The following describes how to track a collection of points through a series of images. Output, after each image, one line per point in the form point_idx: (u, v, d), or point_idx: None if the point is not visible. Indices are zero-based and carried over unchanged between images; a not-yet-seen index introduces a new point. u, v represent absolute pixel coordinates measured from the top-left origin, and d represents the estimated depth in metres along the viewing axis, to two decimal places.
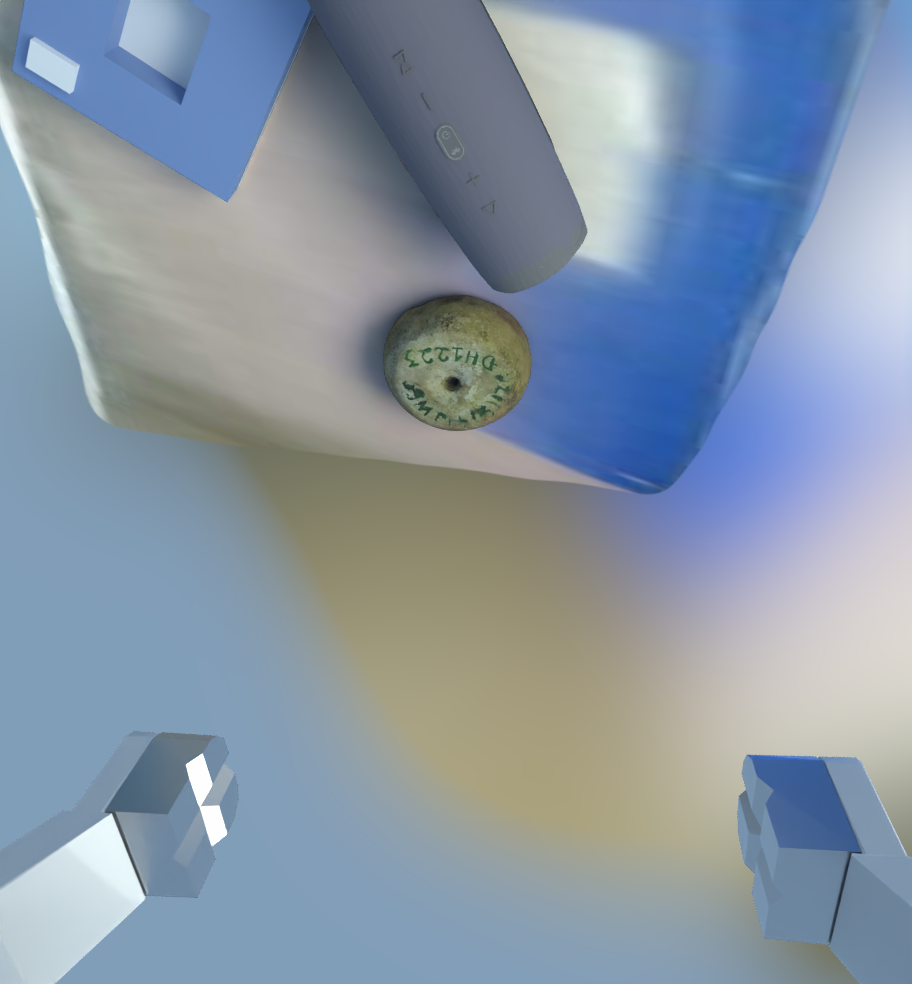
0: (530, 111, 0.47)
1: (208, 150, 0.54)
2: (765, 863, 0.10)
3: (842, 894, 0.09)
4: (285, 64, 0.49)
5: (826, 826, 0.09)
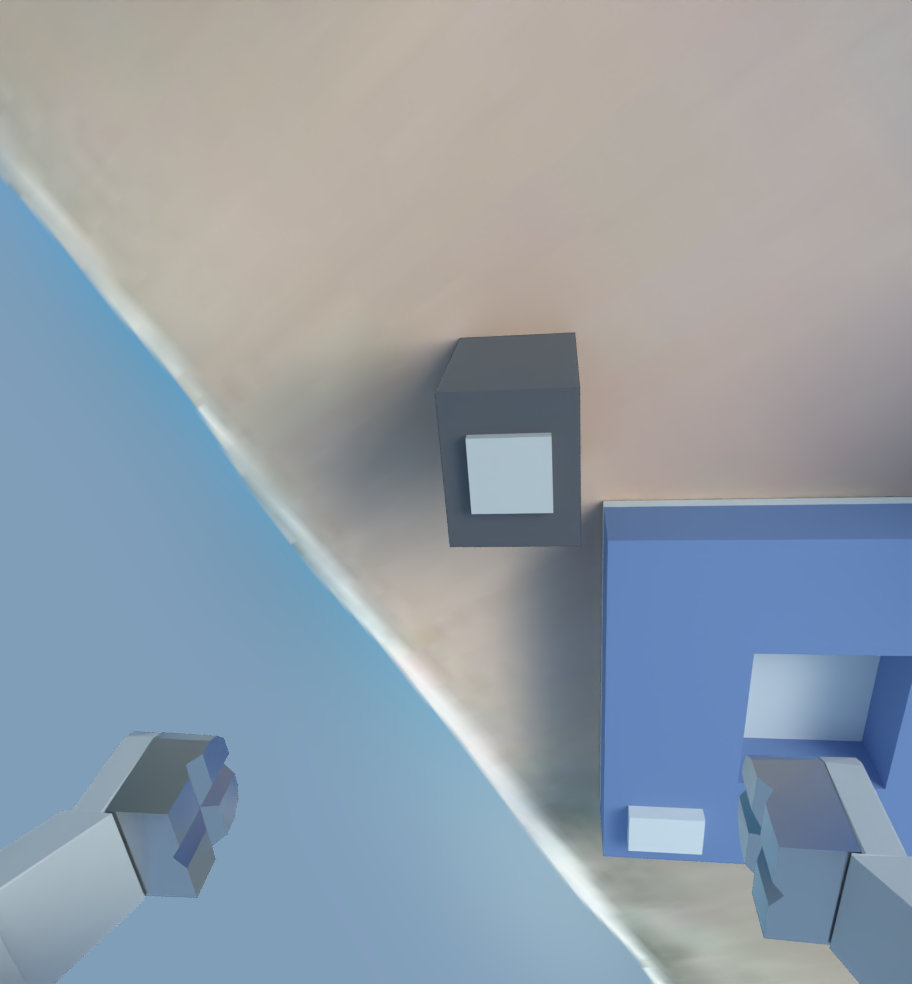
0: None
1: None
2: (765, 863, 0.10)
3: (842, 894, 0.09)
4: None
5: (826, 826, 0.09)
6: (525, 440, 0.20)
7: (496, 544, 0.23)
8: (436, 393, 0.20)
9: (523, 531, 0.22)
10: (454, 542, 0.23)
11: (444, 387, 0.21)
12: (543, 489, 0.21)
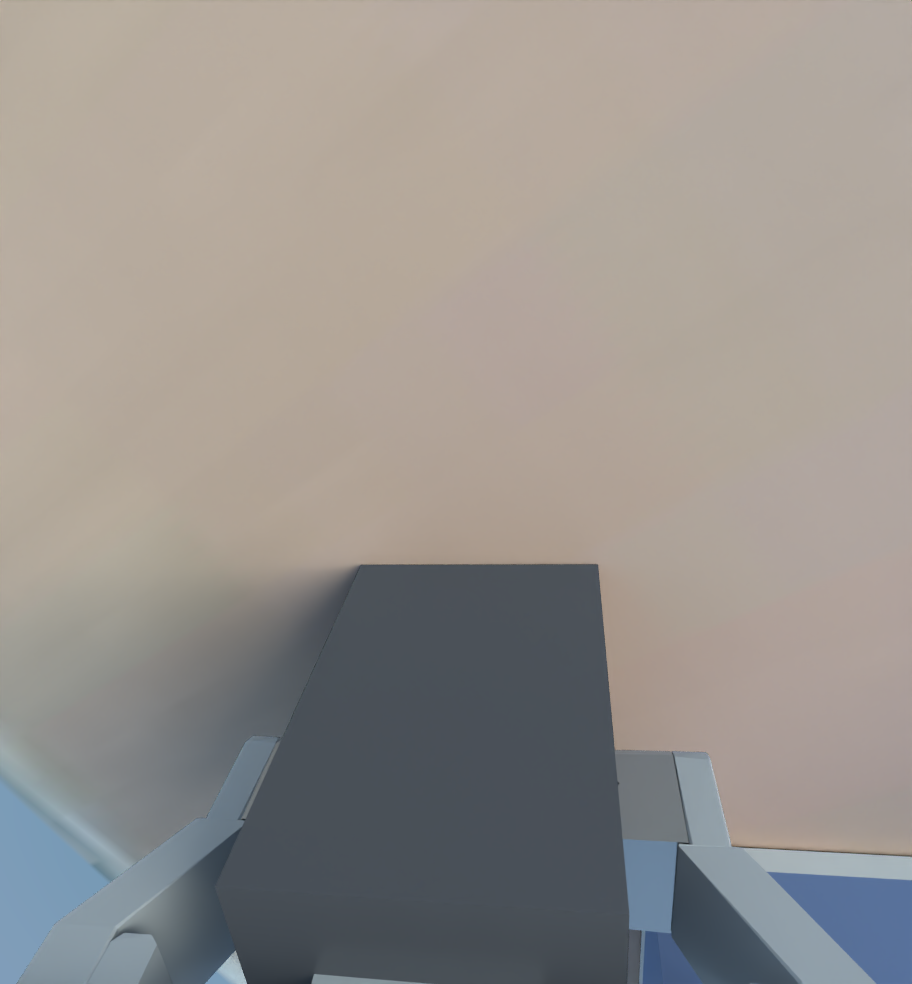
0: None
1: None
2: None
3: (676, 883, 0.09)
4: None
5: (661, 817, 0.09)
6: None
7: None
8: (218, 891, 0.07)
9: None
10: None
11: (251, 850, 0.08)
12: None
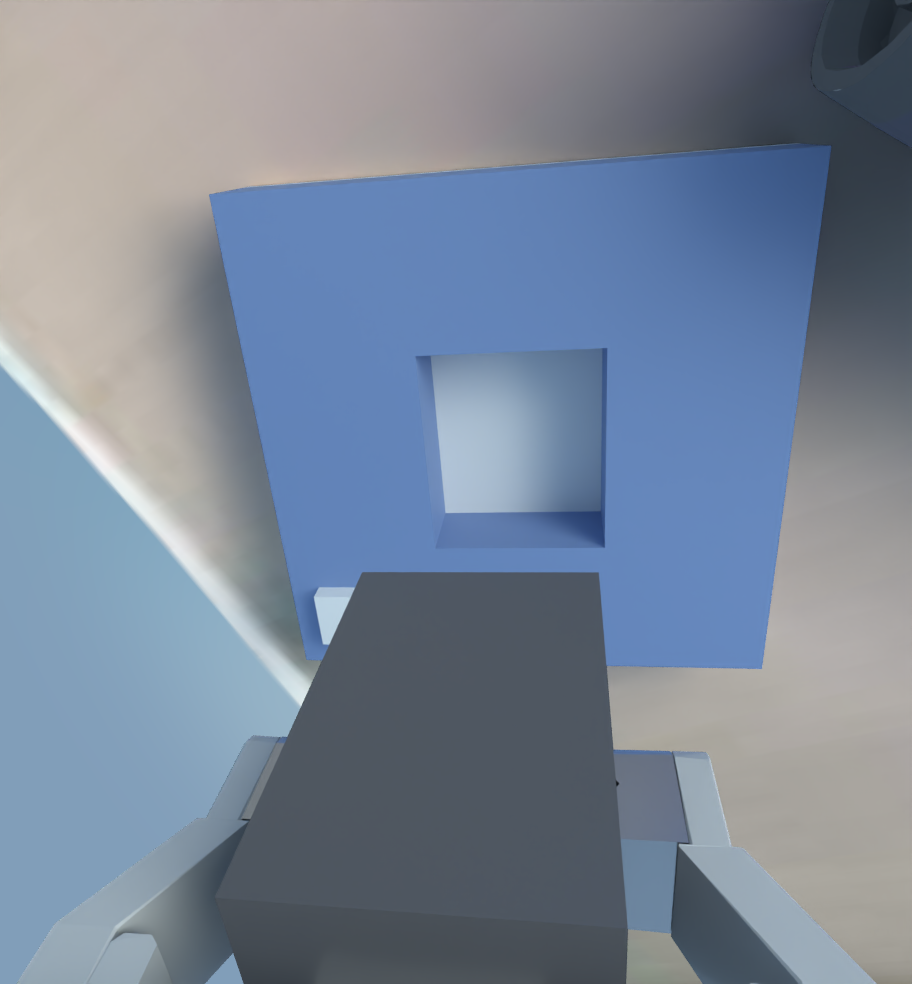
0: None
1: (687, 596, 0.24)
2: None
3: (676, 883, 0.09)
4: (803, 332, 0.20)
5: (661, 818, 0.09)
6: None
7: None
8: (218, 902, 0.07)
9: None
10: None
11: (250, 861, 0.08)
12: None
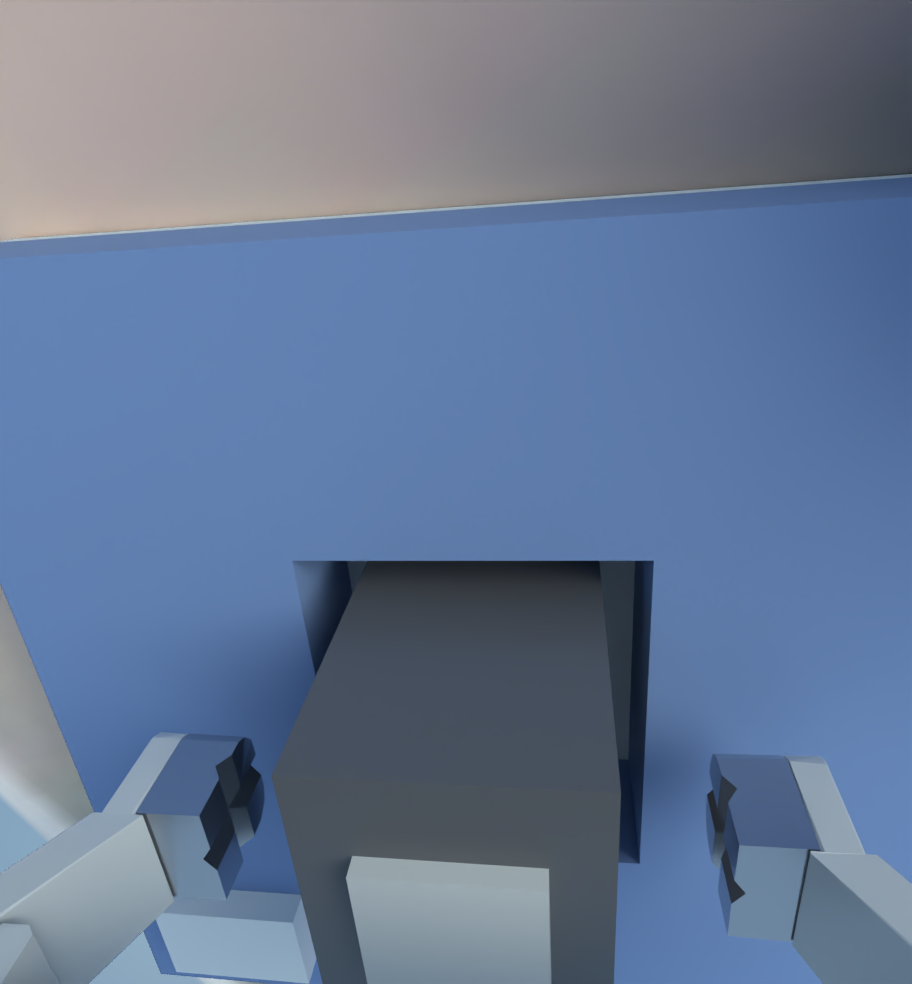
0: None
1: None
2: (729, 861, 0.10)
3: (803, 891, 0.09)
4: None
5: (787, 824, 0.09)
6: (485, 892, 0.09)
7: None
8: (274, 779, 0.09)
9: None
10: None
11: (299, 749, 0.09)
12: (529, 977, 0.09)
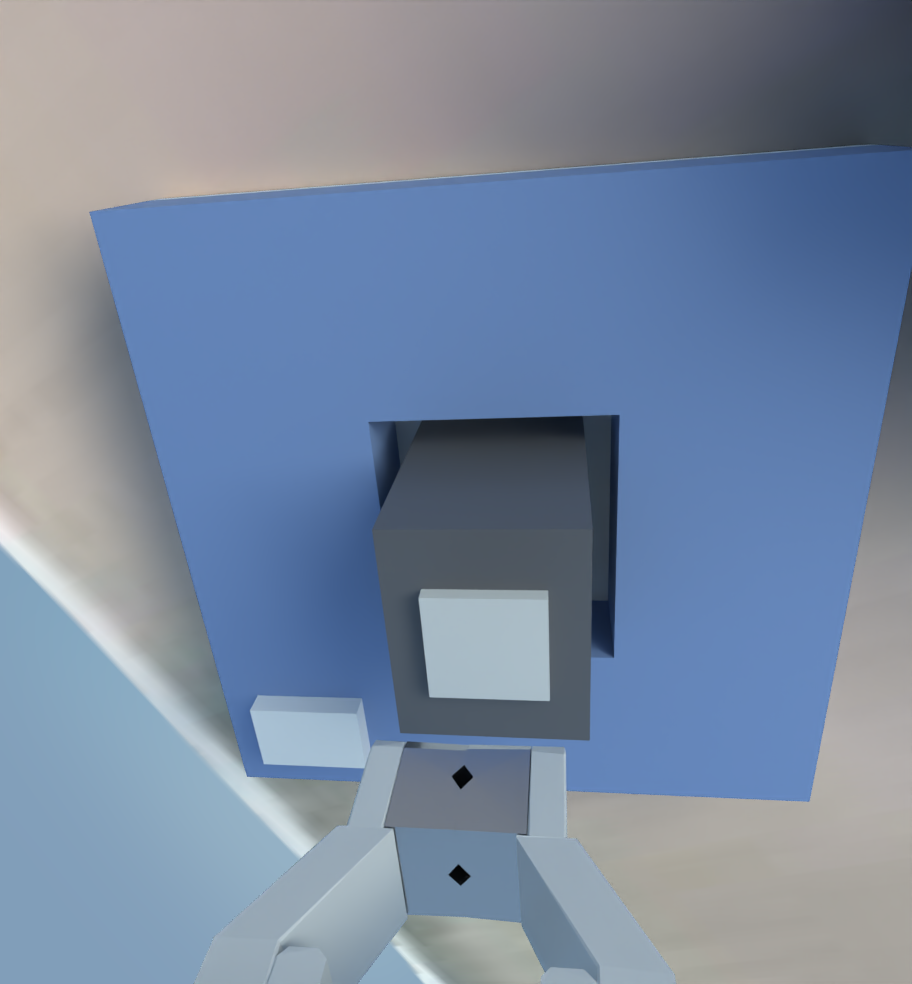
0: None
1: (718, 716, 0.19)
2: None
3: (519, 873, 0.10)
4: (882, 398, 0.15)
5: (505, 810, 0.10)
6: (507, 603, 0.13)
7: (467, 731, 0.16)
8: (374, 531, 0.13)
9: (505, 718, 0.15)
10: (406, 727, 0.16)
11: (387, 518, 0.14)
12: (535, 670, 0.14)
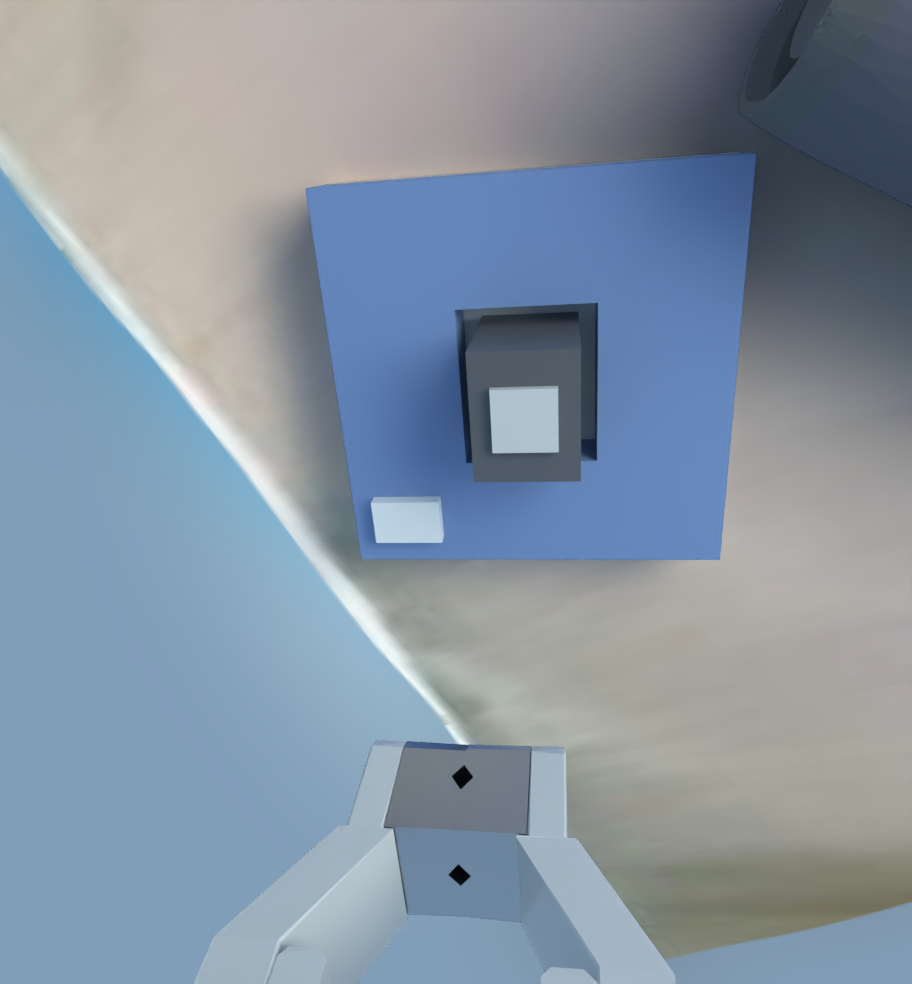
0: None
1: (661, 500, 0.31)
2: None
3: (519, 873, 0.10)
4: (741, 290, 0.27)
5: (505, 810, 0.10)
6: (536, 391, 0.26)
7: (511, 480, 0.28)
8: (466, 353, 0.26)
9: (534, 469, 0.27)
10: (477, 478, 0.28)
11: (472, 349, 0.26)
12: (551, 432, 0.26)
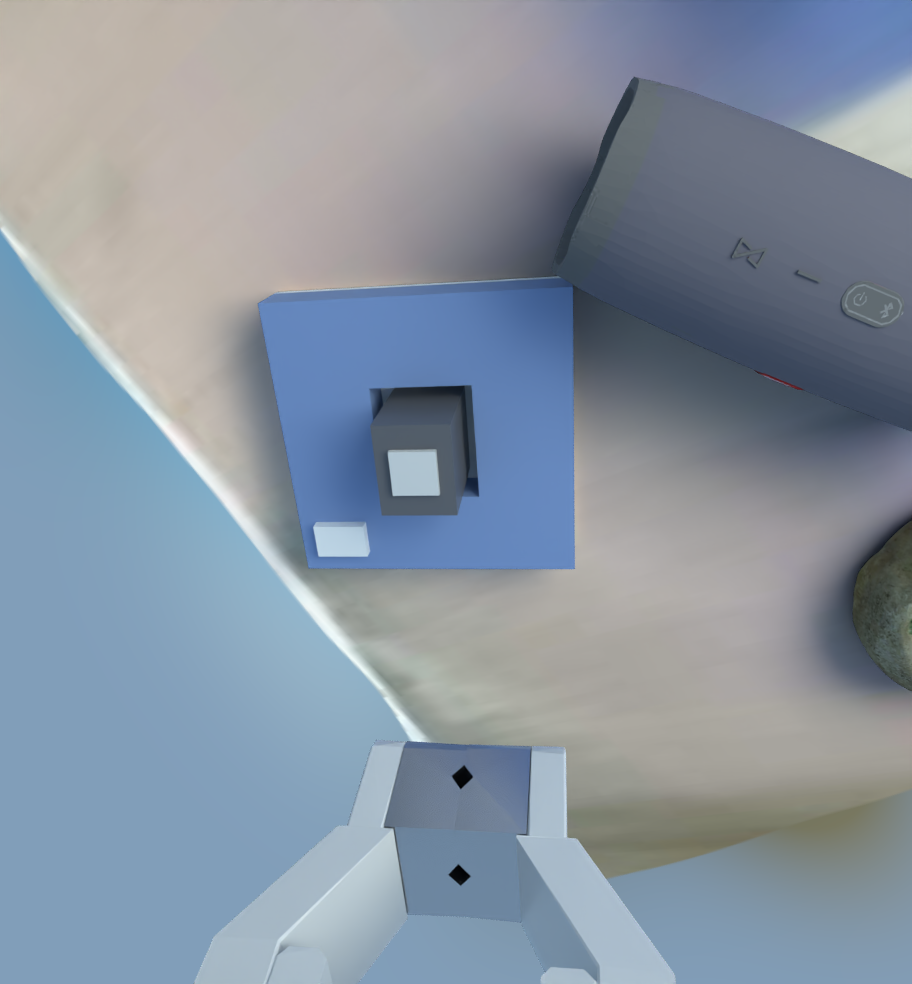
0: None
1: (528, 525, 0.41)
2: None
3: (519, 873, 0.10)
4: (572, 377, 0.37)
5: (505, 810, 0.10)
6: (420, 453, 0.36)
7: (409, 514, 0.38)
8: (370, 426, 0.36)
9: (423, 506, 0.38)
10: (384, 512, 0.38)
11: (376, 422, 0.36)
12: (432, 481, 0.37)
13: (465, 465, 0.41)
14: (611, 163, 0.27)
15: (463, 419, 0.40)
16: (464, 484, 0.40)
